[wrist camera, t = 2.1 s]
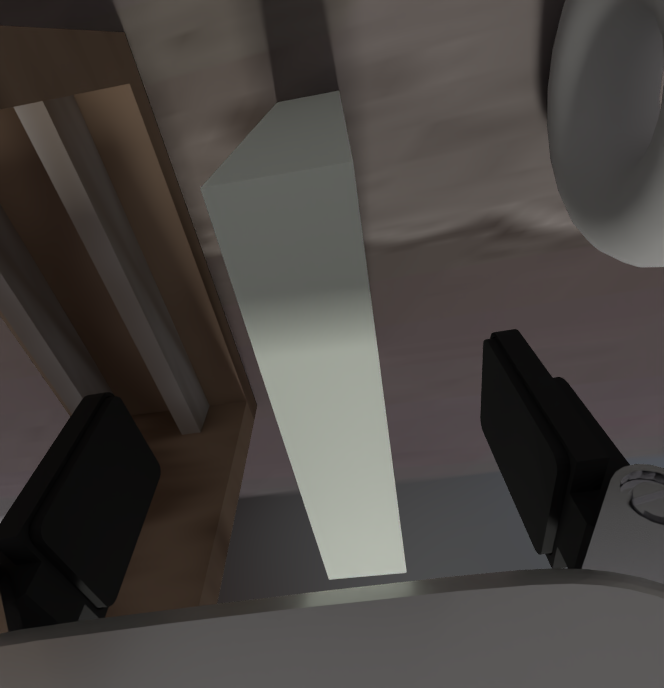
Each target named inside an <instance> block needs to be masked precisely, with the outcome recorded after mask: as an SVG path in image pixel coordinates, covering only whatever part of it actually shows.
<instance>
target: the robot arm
mask: <svg viewBox="0 0 664 688" xmlns="http://www.w3.org/2000/svg"><path fill="white" fill-rule="evenodd" d="M480 418H481V426H482V430H483V432H484V435H485V437H486V439H487V442H488V444H489V446H490V448H491V451H492V453H493V455H494V458H495V460H496V462H497V464H498V467H499V469H500V471H501V473H502V476H503V478H504V480H505V483H506V485H507V487H508V489H509V492H510V494H511V496H512V498H513V501H514V503H515V505H516V508H517V510H518V512H519V514H520V517H521V519H522V521H523V523H524V526H525V528H526V530H527V532H528V534H529V537H530V539H531V542H532V544H533V546H534V548H535V550H536V552H537V553H538V554H546V556H547V558H548V561H549V563H550V565H551V567H552V569H535V570H517V571H506V572H495V573H486V574H475V575H464V576H455V577H445V578H435V579H426V580H418V581H409V582H400V583H391V584H382V585H373V586H364V587H356V588H348V589H338V590H329V591H321V592H312V593H304V594H296V595H288V596H279V597H270V598H262V599H254V600H245V601H237V602H229V603H221V604H212V605H204V606H195V607H187V608H179V609H171V610H163V611H155V612H147V613H139V614H131V615H123V616H115V617H107V618H105V616H106V613H107V610H108V608H109V607H110V606H112V605H113V604H114V602H115V601H116V599H117V596H118V593H119V591H120V588H121V585H122V582H123V579H124V577H125V574H126V571H127V568H128V565H129V563H130V560H131V557H132V554H133V552H134V549H135V546H136V543H137V540H138V538H139V535H140V532H141V529H142V526H143V524H144V521H145V518H146V515H147V512H148V510H149V507H150V504H151V501H152V498H153V496H154V493H155V490H156V487H157V484H158V482H159V479H160V475H161V468H160V465H159V462H158V461H157V459H156V457H155V456H154V454H153V452H152V451H151V449H150V447H149V445H148V444H147V442H146V440H145V439H144V437H143V435H142V433H141V432H140V430H139V428H138V427H137V425H136V423H135V422H134V420H133V418H132V416H131V415H130V413H129V411H128V410H127V408H126V406H125V404H124V403H123V401H122V400H121V398H120V397H117V396H114V394H112V393H111V392H104V393H98V394H91V395H87V396H85V397H84V398H83V399H82V400H81V402H80V403H79V405H78V406H77V408H76V409H75V411H74V412H73V414H72V415H71V417H70V418H69V420H68V421H67V423H66V424H65V426H64V427H63V429H62V430H61V432H60V434H59V435H58V437H57V438H56V440H55V441H54V443H53V444H52V446H51V447H50V449H49V450H48V452H47V453H46V455H45V456H44V458H43V459H42V461H41V462H40V464H39V465H38V467H37V468H36V470H35V471H34V473H33V474H32V476H31V477H30V479H29V481H28V482H27V484H26V485H25V487H24V488H23V490H22V491H21V493H20V494H19V496H18V497H17V499H16V500H15V502H14V503H13V505H12V506H11V508H10V509H9V511H8V512H7V514H6V515H5V517H4V518H3V520H2V521H1V523H0V688H664V468H661V467H657V466H653V465H644V464H634V465H630V464H629V463H628V462H627V460H626V459H625V458H624V457H623V455H622V454H621V453H620V451H619V450H618V449H617V447H616V446H615V445H614V443H613V442H612V441H611V439H610V438H609V437H608V435H607V434H606V433H605V431H604V430H603V429H602V427H601V426H600V425H599V423H598V422H597V421H596V420H595V418H594V417H593V416H592V414H591V413H590V412H589V410H588V409H587V408H586V406H585V405H584V404H583V402H582V401H581V400H580V398H579V397H578V396H577V394H576V393H575V392H574V390H573V389H572V388H571V386H570V385H569V384H568V383H567V382H566V381H565V380H564V379H563V378H561V377H556V378H552V376H551V375H550V374H549V372H548V371H547V369H546V368H545V367H544V365H543V364H542V363H541V361H540V360H539V358H538V357H537V356H536V354H535V353H534V351H533V350H532V349H531V347H530V346H529V345H528V343H527V342H526V340H525V339H524V338H523V336H522V335H521V333H520V332H519V331H518V330H516V329H513V330H507V331H500V332H494V333H492V334H491V337H490V339H487V340H484V343H483V365H482V391H481V416H480ZM565 567H568V569H565Z"/></svg>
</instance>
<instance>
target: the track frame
mask: <svg viewBox="0 0 664 688" xmlns="http://www.w3.org/2000/svg"><path fill="white" fill-rule="evenodd" d="M0 316H1V318H2V319H3V321H4V322H5V323H6V325H7V326H8V328H9V329H10V331H11V332H12V334H13V335H14V336H15V338H16V339H17V341H18V342H19V344H20V345H21V346H22V348H23V349H24V351H25V352H26V354H27V355H28V356H29V358H30V359H31V361H32V362H33V364H34V365H35V366H36V368H37V369H38V371H39V372H40V374H41V375H42V377H43V378H44V379H45V381H46V382H47V384H48V385H49V387H50V388H51V389H52V391H53V392H54V394H55V395H56V397H57V398H58V399H59V401H60V402H61V404H62V405H63V407H64V408H65V410H66V411H67V412H68V414H69V415H70V417H71V415H72V414H73V412H74V411H75V409H76V408H77V406H78V405H79V403H80V402H81V400H82V399H83V398H84V397H85V396H87V395H91V394H98V393H104V392H111V393H112V394H114V396H117V397H120V398H121V400H122V401H123V403H124V404H125V406H126V408H127V410H128V411H129V413H130V415H131V416H132V418H133V420H134V422H135V423H136V425H137V427H138V428H139V430H140V432H141V433H142V435H143V437H144V439H145V440H146V442H147V444H148V445H149V447H150V449H151V451H152V452H153V454H154V456H155V457H156V459H157V461H158V462H159V465H160V468H161V475H160V479H159V482H158V484H157V487H156V490H155V493H154V496H153V498H152V501H151V504H150V507H149V510H148V512H147V515H146V518H145V521H144V524H143V526H142V529H141V532H140V535H139V538H138V540H137V543H136V546H135V549H134V552H133V554H132V557H131V560H130V563H129V565H128V568H127V571H126V574H125V577H124V579H123V582H122V585H121V588H120V591H119V593H118V596H117V599H116V601H115V602H114V604H113V605H112V606H110V607H109V608H108V610H107V613H106V616H105V618H107V617H115V616H123V615H131V614H139V613H147V612H155V611H163V610H171V609H179V608H187V607H195V606H204V605H212V604H217V601H218V597H219V592H220V587H221V582H222V577H223V572H224V567H225V562H226V557H227V552H228V547H229V542H230V537H231V531H232V527H233V522H234V517H235V513H236V507H237V502H238V498H239V493H240V488H241V483H242V478H243V473H244V468H245V463H246V458H247V453H248V448H249V443H250V438H251V433H252V428H253V423H254V419H255V414H256V409H257V404H256V401H255V399H254V396H253V393H252V390H251V387H250V385H249V382H248V379H247V376H246V373H245V371H244V368H243V365H242V362H241V359H240V356H239V354H238V351H237V348H236V345H235V342H234V340H233V337H232V334H231V331H230V328H229V325H228V323H227V320H226V317H225V314H224V311H223V309H222V306H221V303H220V300H219V297H218V295H217V292H216V289H215V286H214V283H213V280H212V278H211V275H210V272H209V269H208V266H207V264H206V261H205V258H204V255H203V252H202V249H201V247H200V244H199V241H198V238H197V235H196V233H195V230H194V227H193V224H192V221H191V219H190V216H189V213H188V210H187V207H186V204H185V202H184V199H183V196H182V193H181V190H180V188H179V185H178V182H177V179H176V176H175V173H174V171H173V168H172V165H171V162H170V159H169V157H168V154H167V151H166V148H165V145H164V143H163V140H162V137H161V134H160V131H159V128H158V126H157V123H156V120H155V117H154V114H153V112H152V109H151V106H150V103H149V100H148V97H147V95H146V92H145V89H144V86H143V83H142V81H141V78H140V75H139V72H138V69H137V67H136V64H135V61H134V58H133V55H132V52H131V50H130V47H129V44H128V41H127V38H126V36H125V33H124V32H110V31H92V30H74V29H55V28H37V27H19V26H0Z"/></svg>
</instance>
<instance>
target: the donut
mask: <svg viewBox="0 0 664 688" xmlns="http://www.w3.org/2000/svg"><path fill="white" fill-rule="evenodd" d="M663 68H664V0H565V3H564V6H563V9H562V13H561V17H560V21H559V25H558V29H557V34H556V38H555V42H554V46H553V51H552V59H551V66H550V74H549V82H548V101H547V130H548V139H549V149H550V159H551V163H552V167H553V171H554V176H555V180H556V184H557V188H558V191H559V193H560V196H561V198H562V200H563V202H564V205H565V207H566V209H567V211H568V213H569V216H570V218H571V220H572V222H573V224H574V225H575V226H576V227H577V228H578V229H579V231H580V232H581V233H582V234H583V235H584V237H585V238H586V239H587V240H588V241H589V242H590V243H591V244H592V245H593V246H594V247H596V248H597V249H598V250H599V251H601V252H603V253H605V254H607V255H609V256H612V257H614V258H616V259H618V260H620V261H622V262H624V263H627V264H631V265H634V266H637V267H664V87H663V96H662V104H661V111H660V89H661V80H662V72H663Z"/></svg>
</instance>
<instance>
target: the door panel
mask: <svg viewBox="0 0 664 688" xmlns="http://www.w3.org/2000/svg"><path fill="white" fill-rule="evenodd" d="M200 189H201V192H202V195H203V198H204V201H205V204H206V207H207V210H208V213H209V216H210V219H211V222H212V225H213V228H214V231H215V235H216V238H217V241H218V244H219V247H220V250H221V253H222V256H223V259H224V262H225V265H226V268H227V271H228V274H229V277H230V280H231V283H232V286H233V289H234V292H235V295H236V298H237V301H238V304H239V307H240V310H241V313H242V317H243V320H244V323H245V326H246V329H247V332H248V335H249V338H250V341H251V344H252V347H253V350H254V353H255V356H256V359H257V362H258V365H259V368H260V371H261V374H262V377H263V380H264V383H265V386H266V389H267V392H268V395H269V399H270V402H271V405H272V408H273V411H274V414H275V417H276V420H277V423H278V426H279V429H280V432H281V435H282V438H283V441H284V444H285V447H286V450H287V453H288V456H289V459H290V462H291V465H292V468H293V471H294V474H295V477H296V481H297V484H298V487H299V490H300V493H301V496H302V499H303V502H304V505H305V508H306V511H307V514H308V517H309V520H310V523H311V526H312V529H313V532H314V535H315V538H316V541H317V544H318V547H319V550H320V553H321V556H322V559H323V563H324V565H325V569H326V571H327V575H328V577H329V579H340V578H351V577H362V576H374V575H385V574H395V573H406V565H405V557H404V550H403V542H402V534H401V526H400V519H399V511H398V503H397V496H396V488H395V480H394V472H393V465H392V457H391V449H390V442H389V434H388V426H387V418H386V411H385V403H384V395H383V388H382V380H381V372H380V365H379V357H378V349H377V342H376V334H375V326H374V318H373V311H372V303H371V295H370V288H369V280H368V272H367V265H366V257H365V249H364V241H363V234H362V226H361V218H360V211H359V203H358V195H357V188H356V180H355V172H354V165H353V158H352V153H351V148H350V143H349V138H348V133H347V128H346V123H345V117H344V112H343V107H342V102H341V97H340V92H339V91H334V92H329V93H323V94H318V95H313V96H308V97H302V98H297V99H292V100H287V101H282V102H277V103H276V104H275V105H274V106H273V108H272V109H271V110H270V111H269V112H268V113H267V114H266V115H265V116H264V118H263V119H262V120H261V121H260V122H259V123H258V124H257V125H256V127H255V128H254V129H253V130H252V131H251V132H250V133H249V134H248V135H247V137H246V138H245V139H244V140H243V141H242V142H241V143H240V144H239V146H238V147H237V148H236V149H235V150H234V151H233V152H232V153H231V154H230V156H229V157H228V158H227V159H226V160H225V161H224V162H223V163H222V165H221V166H220V167H219V168H218V169H217V170H216V171H215V172H214V173H213V175H212V176H211V177H210V178H209V179H208V180H207V181H206V182H205V184H204V185H203V186H202V187H201V188H200Z"/></svg>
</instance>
